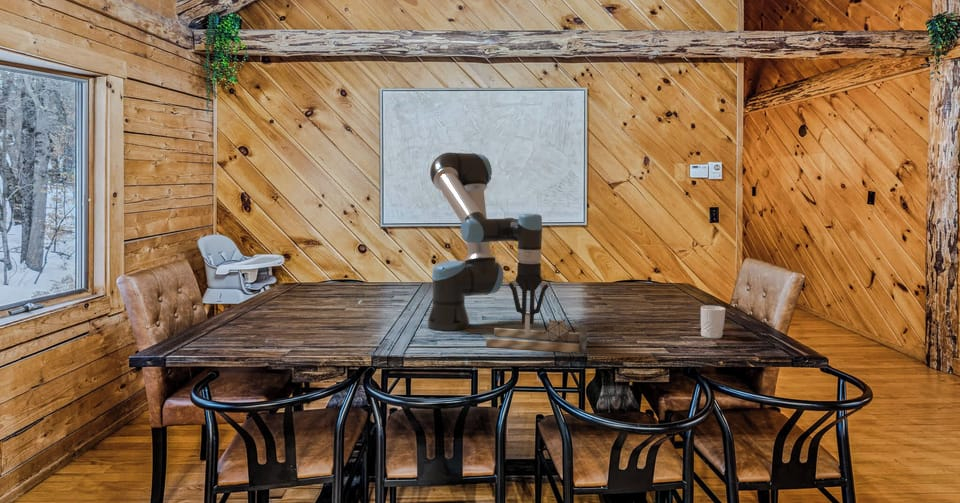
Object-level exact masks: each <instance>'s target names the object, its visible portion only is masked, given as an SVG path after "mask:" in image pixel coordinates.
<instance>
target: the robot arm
mask: <svg viewBox="0 0 960 503" xmlns="http://www.w3.org/2000/svg"><path fill="white" fill-rule="evenodd" d="M492 170H493V169H492V164H491V162H490V160H489V159H488V157H486V156H485V154H481V153H475V152H474V153H473V152H472V153H468V152H444V153H442V154H439V155H438V156H437V157H436V158H435V159H434V160H433V162H432V164H431V166H430V172H429V173H430V175H429V176H430V180H431V181H432V184H433V185H434V187H435V188H436V189H438V190H439V191H441V192H442V195H444V198H445V199H446V201H447V202H448V203H449V206H450V207H451V208H452V210H453V211H454V213H455V214H456V216H457V218H458V219H459V221H460V223H461V224H460V234H461V239H462V240H463V241H465V242H466V247H467V257H466V258H465V259H464V261H463V260H448V261H444V262H439V263H437V264H436V265H434V267H433V268H432V276H431V281H432V306H431V309H430V312H429V315H428V319H427V327H428V328H429V329H433V330H437V331H459V330H460V331H461V330H464V329H468V328H469V327H470V319H469V315H468V312H467V309H466V306H465V304H466V303H465V299H466V298H465V297H473V296H483V295H484V296H486V295H487V296H488V295H492V294H496V293H498V292H499V290H500V289H501V287H502V285H503V282H504V269H503V267H502V265H501V263H499V262H497V260H496V257H495V255H493V254H492V252H491V245H490V244H491V243H493V242H516V243H517V261H518V263H517V273H516V274H517V275H516V277H515V280H513V281H510V282H509V283H508V286H509V288H510V290H511V292H512V297H513V301H514V307H515V311H516V312H517V313H520V314H521V324H522V325H524V330H525V335H529V334H530V330H531V325H533V324H534V322H535V314H539V313H540V311H541V308H542V303H543V300H544V297H545V294H546V291H547V289H548V288H549V283H545V282H544V281H543V278H542V272H541V271H542V263H541V262H542V242H543V240H542V239H543V238H542V237H543V219H542V218H543V217H542V215H541V214H537V213H521V214H519V216H518V218H514V217H504V218H488V217H487V216H488V215H487V208H486V198H485V190H486V189H487V188H488V184H489V183H490V182H491V180H492V175H493V171H492ZM517 286H518V287H519V288H520V289H521V293H522V294H521V302H520V298H519V293H518V289H517ZM539 286H540V289H541V290H540V293H539V297H538V300H537V303H536V307H535V301H536V300H535V299H536V298H535V297H536V296H535V293H536V290H537V288H538V287H539ZM528 292H529V312H528V313H527V303H528V302H527V299H528V298H527V297H528V296H527V295H528Z"/></svg>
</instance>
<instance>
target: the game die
mask: <svg viewBox="0 0 960 503" xmlns="http://www.w3.org/2000/svg"><path fill="white" fill-rule="evenodd" d="M548 321H549V323H548V325H547V329H546V330H545V331H546V332H543V333H546V334H547V336H548V338H549V342H559V343H566V338H567V336H568V334H569V332H570V333H572V331H573V330H572V329H570V328H568V326H567V324H566V318H564V319H563V320H552V319H551V318H549V319H548Z"/></svg>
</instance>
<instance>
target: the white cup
mask: <svg viewBox="0 0 960 503" xmlns="http://www.w3.org/2000/svg"><path fill="white" fill-rule="evenodd" d="M725 315H726V308H725V307H723V306H719V305H707V304H706V305H701V306H700V328H701V329H700V335H701V336H702V337H705V338H709V339H721V338H722V337H723V330H724V326H725V325H724V324H725V319H726V318H725V317H726V316H725Z"/></svg>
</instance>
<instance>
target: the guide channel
mask: <svg viewBox="0 0 960 503" xmlns="http://www.w3.org/2000/svg"><path fill="white" fill-rule="evenodd" d="M579 330H580V332H570V331H569V334H568V336H567V338H566V341H567V342H566V341H565V343H559V342H550V340H549V338H548V336H547V334H546V333H543V332H546V330H534V329H532V330H531V329H530V334H529V335H525V329H517V328H503V327H494V332H493V336H494V337H495V338H494V337H486V341H485V342H486V345H485V346H486V348H500V349H501V348H503V349H515V350H517V349H518V350H530V351H542V352H543V351H545V352H556V351H561V352H560V353H571V352H580V353H579V354H586V353H587V352H586V351H587V342H588V325H580V329H579ZM497 337H499V338H497ZM500 337H501V338H500ZM502 337H505V338H502ZM509 338H510V339H509ZM512 338H513V339H512ZM514 338H518V339H514ZM519 338H520V339H519ZM527 339H533V340H527ZM534 339H535V340H534ZM543 340H544V341H543ZM545 340H549V341H545ZM577 341H579V342H578V343H572V342H577Z"/></svg>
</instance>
